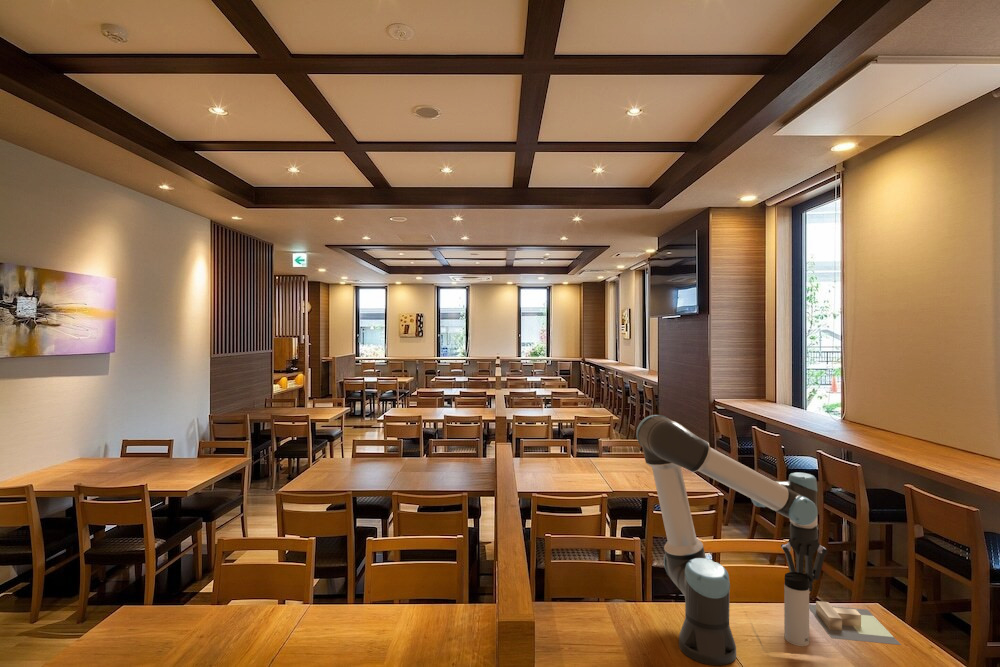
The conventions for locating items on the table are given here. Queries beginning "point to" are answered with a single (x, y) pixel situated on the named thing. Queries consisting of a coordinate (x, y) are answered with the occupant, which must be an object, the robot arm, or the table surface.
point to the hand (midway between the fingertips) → (804, 600)
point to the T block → (837, 616)
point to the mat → (860, 629)
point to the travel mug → (796, 608)
